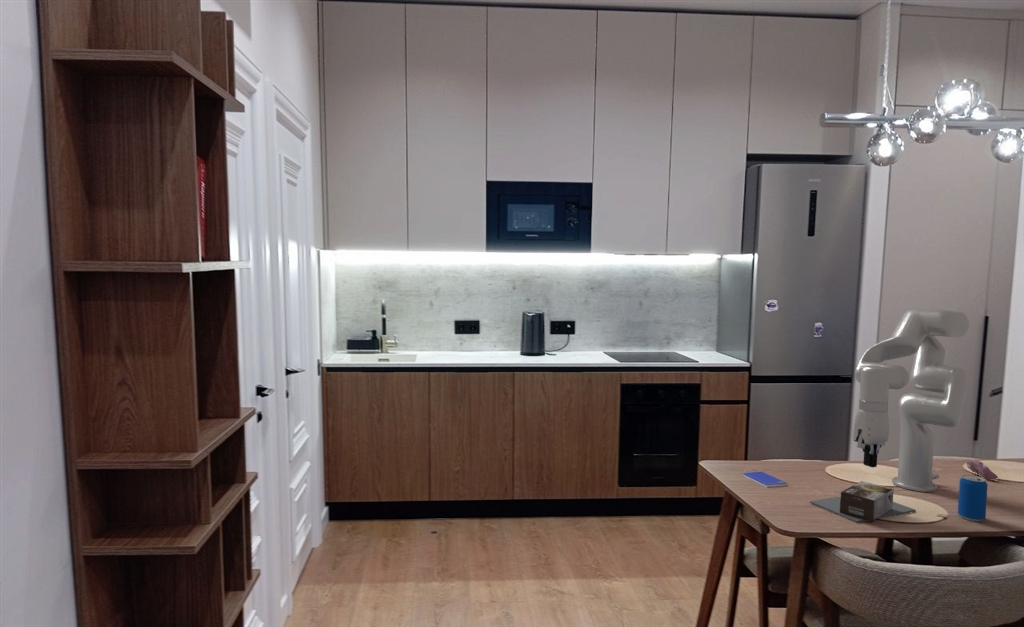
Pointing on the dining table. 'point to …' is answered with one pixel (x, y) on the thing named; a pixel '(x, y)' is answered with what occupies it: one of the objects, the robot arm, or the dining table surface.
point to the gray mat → (834, 507)
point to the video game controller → (981, 469)
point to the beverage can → (972, 498)
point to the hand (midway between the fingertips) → (870, 465)
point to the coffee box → (866, 500)
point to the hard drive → (764, 479)
